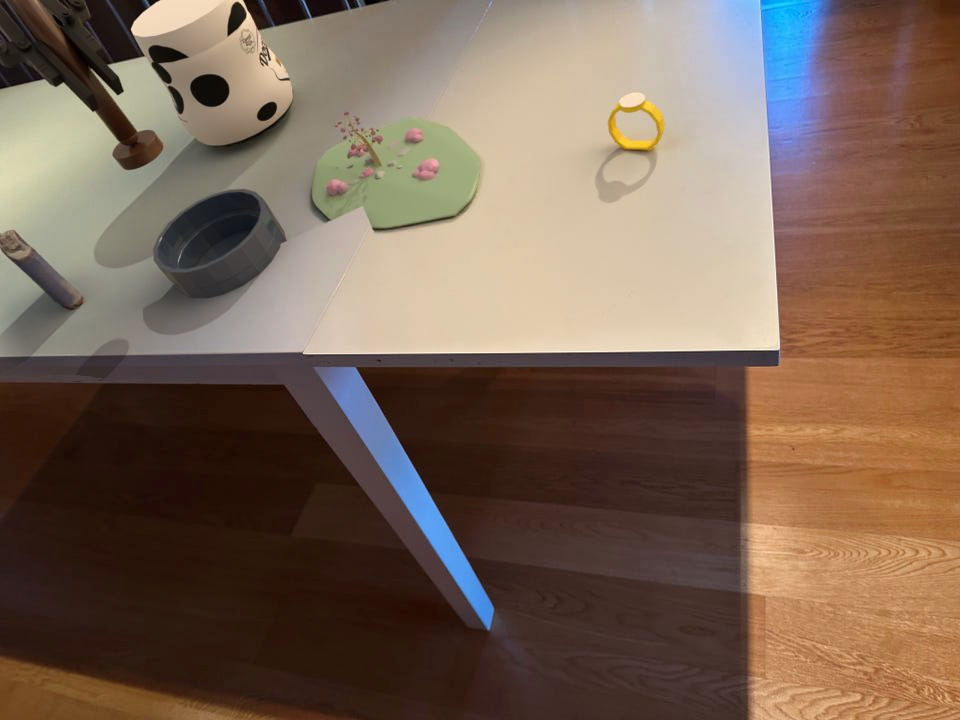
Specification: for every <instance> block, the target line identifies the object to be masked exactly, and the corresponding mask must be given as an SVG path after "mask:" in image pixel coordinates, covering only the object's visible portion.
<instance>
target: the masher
mask: <svg viewBox="0 0 960 720" xmlns="http://www.w3.org/2000/svg"><path fill="white" fill-rule="evenodd" d="M7 1H8V3H9V5H10V6H11V7H12V8H13V9H14V11H15V12H16V13H17V15H18V16H19V17H20V19H22V22H24V23H25V25H26V26H27V27H28V28H29V30H30V31H31V32H32V34H33V35H34V36H35V38H36V39H37V41H38V40H41V41H42V42H43V43H44V44H45V45H46V46H47V47H48V48H49V49H50V50H51V51H52V52H53V53H54V55H55V56H56V57H57V58H58V59H59V60H60V61H61V62H62V63H63V64H64V65H65V66H66V67H67V68H68V69H69V70H70V71H71V72H72V73H73V74H74V75H75V76H76V77H77V78H78V79H79V80H80V81H81V82H82V83H83V84H84V85H85V86H86V87H87V88H88V89H89V90H90V91H91V92H92V93H93V95H94V97H95V99H96V101H97V103H98V106H99V109H97V110H96V111H94V113H95V114H96V115H97V116H98V118H99V119H100V120H101V121H102V123H103V124H104V125H105V127H106V128H107V129H108V131H110V133H111V134H112V135H113V137H114V138H115V139H116V140H117V142H118V143H117V145H116V146H115V147H114V149H113V150H112V154H111V155H112V158H114V160H115V161H116V162H117V164H118V165H119V166H120V167H121V168H122V169H123V170H125V171H133V170H138V169H140V168H143V167H145V166H147V165H148V164H150V163H152V162H153V161H154V160H156V159H157V158H158V157H159V156H160V154H161V153H162V152H163V150H164V147H165V146H164V143H163V141H162V140H161V138H159V136H158V134H157V133H156V132H155V131H154V130H152V129H143V130H139V131H138V130H137V128H136V127H135V126H134V125H133V123H132V121H130V119H129V118H128V117H127V115H126V114H125V112H124V111H123V110H122V109H121V108H120V106H119V105H118V103H117V102H116V100H115V99H114V98H113V97H112V95H111V94H110V93H109V91H108V90H107V88H106V87H105V86H104V85H103V83H102V82H101V80H100V78H98V76H97V74H96V73H95V72H94V71H93V70H92V69H91V68H90V67H89V66H88V65H87V63H86V62H85V61H84V59H83V58H82V57H81V55H80V54H79V53H78V51H77V50H76V49H75V47H74V46H73V45H72V43H71V42H70V41H69V39H68V38H67V37H66V35H65V34H64V33H63V31H62V30H61V29H60V27H59V26H58V25H57V23H56V22H55V21H54V19H53V18H52V17H51V15H50V14H49V13H48V11H47V10H46V9H45V7H44V6H43V5H42V3H41V2H40V1H39V0H7Z"/></svg>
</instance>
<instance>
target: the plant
mask: <svg viewBox="0 0 960 720" xmlns="http://www.w3.org/2000/svg"><path fill="white" fill-rule="evenodd" d="M349 114H350V111H348V110H346V111H344V112H343V116H346V117H347V119H348V122H349V123H348V126H349V127H350V128H351V130H348V129H347V128H346V127H345V125H344V124H343V123H342V121H338V122H337V124H335V125H334V127H335V128H338V127H339V126H340V125H341V124H342V125H341V128H340V132H341V133H345V132H348V133H349V135H348V136H347V135H344V136H343V137H342V139H343V141H341V142H338V143H337V144H335V145H333V146H332V147H329V149H327V150H326V151H325V152H324V153H323V155H321V157H320V158H319V160H318V161H317V163H316V164H315V166H314V169H313V172H312V185H311V198H312V201H313V203H314V205H315V207H316V208H317V209H318V210H319V211H320V212H321V213H322V214H323V215H324V216H325V217H326V218H327V219H328V220H329V221H333V220H336V219H338V218H340V217H342V216H344V215H346V214H349V213H351V212H353V211H355V210H357V209H359V208H361V207H362V208H363V211H364V213H365V214H366V217H367V220H368V222H369V224H370V226H371V228H372V230H385V229H393V228H398V227H404V226H409V225H415V224H419V223H425V222H429V221H435V220H438V219H439V220H440V219H445V218H449V217H454V216H457V215H458V214H459V213H460V212H461V211H462V210H463V209H464V208H465V207H466V206H467V205H468V204H469V203H470V202H471V200H472V199H473V198H474V197H475V194H476V192H477V189H478V186H479V183H480V173H481V165H482V162H481V157H480V156H479V154H478V153H477V151H475V150H474V148H472V147H471V145H469V143H468V142H467V141H466V140H464V139H463V138H462V137H461V136H460V134H459V133H458V132H456V131H455V130H454V129H453V128H451V127H449V126H448V125H445V124H442V123H440V122H435V121H432V120H428V119H424V118H420V117H411V116H409V117H406V118H402V119H400V120H397V121H394V122H391V123H388V124H385V125H381V126H379V127H375V128H373V127H370V129H365V128H364V127H360V131H361V132H359V129H358V128H354V127H355V124H356V125H358V126H359V125H361V121H360V117H358V116H357V117H356V114H355V115H353V116H352V117H353V118H354V121H353V124H352V121H351V120H350V118H349V116H348V115H349ZM352 132H353V133H354V134H353V133H352Z"/></svg>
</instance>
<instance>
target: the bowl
mask: <svg viewBox="0 0 960 720" xmlns="http://www.w3.org/2000/svg"><path fill="white" fill-rule="evenodd" d="M287 241H288V240H287V236H286V233H285V230H284V229H283V227H282V225H281V224H280V222H279V220H278V219H277V218H276V215H274V213H273V212H272V210H271V208H270V207H269V205H268V204H267V202H266V200H265V199H264V198H263V197H262V196H261V194H259V193H257V192H256V191H254V190H250V189H246V188H234V189H233V188H232V189H226V190H223V191H219V192H215V193H212V194H210V195H208V196H206V197H203V198H201V199H199V200H197V201H195V202H194V203H192V204H191V205H189V206H187V207H186V208H185V209H182V211H180V212H179V213H178V214H177V215H176V216H174V218H172V219H171V220H170V221H169V222H167V224H166V225H165V226H164V228H163V229H162V231H161V232H160V233H159V235H158V236H157V238H156V240H155V243H154V246H153V247H152V252H153V254H152V255H153V256H152V257H153V258H152V260H153V262H154V263H155V264H156V266H157V267H158V269H159V270H160V271H161V272H162V273H163V275H165V277H166V278H167V279H168V280H169V281H170V282H171V283H172V285H173V286H174V287H175V288H176V289H177V290H178V291H179V292H180V294H182V295H184V296H187V297H189V298H191V299H211V298H215V297H219V296H223V295H226V294H228V293H231V292H232V291H234V290H237V289H239V288H241V287H243V286H245V285H246V284H248V283H249V282H251V281H252V280H254V279H255V278H256V277H258V276H259V275H260V274H261V273H262V272H263V271H264V270H265V269H266V268H267V267H268V266H269V265H270V264H272V262H273V260H274V259H275V257H276V255H277V254H278V252H279V251H280V249H281V247H282V244H284V243H286V242H287Z"/></svg>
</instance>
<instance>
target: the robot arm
mask: <svg viewBox="0 0 960 720" xmlns="http://www.w3.org/2000/svg"><path fill="white" fill-rule="evenodd" d="M39 1H40V2H41V3H42V5H43V6H44V7H45V9H46V10H47V11H48V13H49V14H50V15H51V17H52V18H53V19H54V21H55V22H56V23H57V25H58V26H59V27H60V29H61V30H62V31H63V33H64V34H65V35H66V37H67V38H68V39H69V41H70V42H71V43H72V45H73V46H74V47H75V49H76V50H77V51H78V53H79V54H80V55H81V57H82V58H83V59H84V61H85V62H86V63H87V65H88V66H89V67H90V69H91V70H92V71H93V73H94V74H95V75H96V76H97V77H99V79H101V81H103V82H104V84H106V85H107V87H109V89H111V90H112V92H113V93H114V94H115V95H116V96H119V95H121V94H123V93H124V92H125V90H124V87H123V84H122V81H121V79H120V76H118V74H117V73H116V72H115V71H114V70H113V69H112V68H111V66H109V65H108V64H107V63H106V62H105V61H104V60H103V58H105V57H106V55H105V52H104V50H103V48H102V44H101V42H99V40H98V39H97V38H96V37H95V36H94V35H93V33H91V32H90V31H89V30H88V28H86V27H85V26H84V24H85V23H86V22H87V23H88V22H89V21H91V14H90V11H89V8H88V6H87V3H86V0H63V2H64V3H65V4H66V5H67V6H65V5H64V4H63V3H62V2H60V1H59V0H39ZM0 31H1V33H2V34H3V35H4V37H6V39H7V40H8V42H4V41H3V40H2V39H0V64H1V65H2V67H5V68H8V69H11V68H14V67H15V66H16V64H19V63H25V64H26V65H27V66H29V67H31V68H32V69H34V70H35V71H36V72H37V73H38V74H39V75H40V76H41V77H42V78H43V79H44V80H45V81H46V82H47V83H48V84H49V85H51V86H53V87H54V88H58V87H59V86H60V85H63V84H64V85H65V86H66V87H67V88H68V89H69V90H70V91H71V92H72V93H73V94H74V95H75V96H76V97H77V98H78V99H79V100H80V101H81V102H82V103H83V104H84V105H85V106H86V107H87V108H88V109H89V110H90V111H91V112H92V113H95V111H96V110H97V109H99V106H98V103H97V101H96V99H95V97H94V95H93V93H92V92H91V91H90V90H89V89H88V88H87V87H86V86H85V85H84V84H83V83H82V82H81V81H80V80H79V79H78V78H77V77H76V76H75V75H74V74H73V73H72V72H71V71H70V70H69V69H68V68H67V67H66V66H65V65H64V64H63V63H62V62H61V61H60V60H59V59H58V58H57V57H56V56H55V55H54V53H53V52H52V51H51V50H50V49H49V48H48V47H47V46H46V45H45V44H44V43H43V42H42V41H41V40H38V39H37V40H36V41H35V42H33V43H31V42H30V40H29V38H28V37H27V35H26V34H25V33H24V32H23V30H22V29H21V28H20V27H19V25H18V24H17V23H16V22H15V21H14V20H13V18H12V17H11V15H9V13H8V12H7V11H6V9H5V8H4V7H3V6H2V4H0Z"/></svg>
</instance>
